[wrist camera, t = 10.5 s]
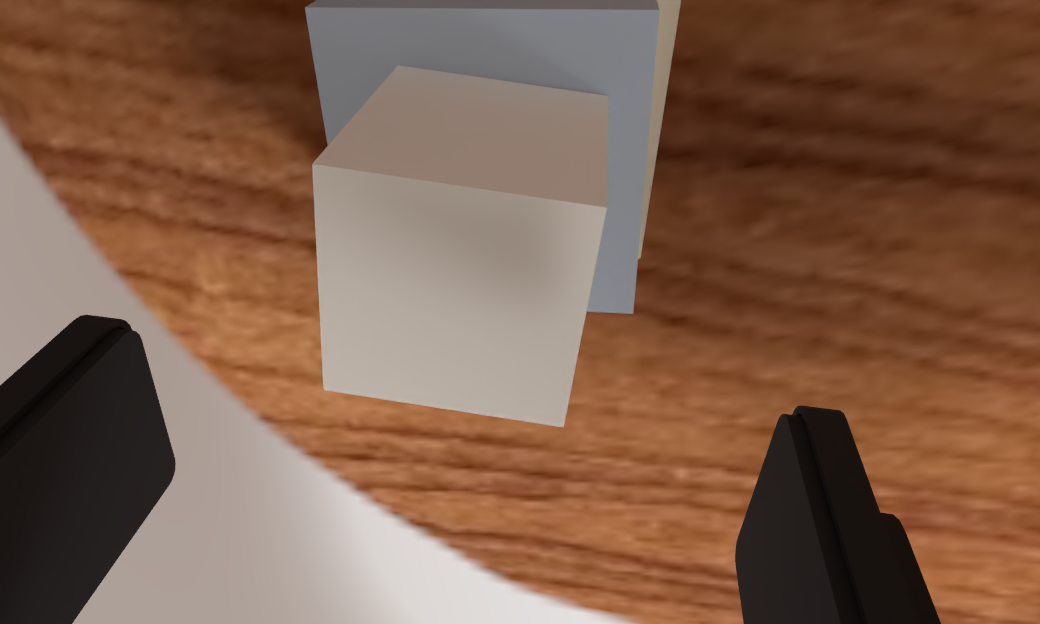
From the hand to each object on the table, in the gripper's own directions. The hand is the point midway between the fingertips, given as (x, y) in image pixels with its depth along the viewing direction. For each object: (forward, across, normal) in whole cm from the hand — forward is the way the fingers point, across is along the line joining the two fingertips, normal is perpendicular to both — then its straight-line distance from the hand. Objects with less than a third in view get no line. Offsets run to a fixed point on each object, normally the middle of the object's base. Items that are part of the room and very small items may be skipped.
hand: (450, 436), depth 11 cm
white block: (+9, +1, 0) cm, 9 cm away
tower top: (+13, +1, 0) cm, 13 cm away
